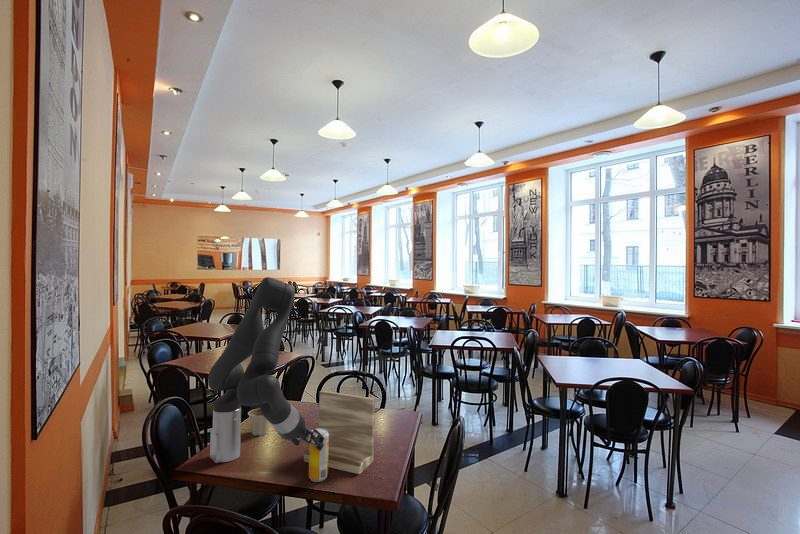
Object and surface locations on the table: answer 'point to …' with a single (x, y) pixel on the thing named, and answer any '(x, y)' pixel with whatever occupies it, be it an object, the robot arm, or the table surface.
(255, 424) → the flower pot
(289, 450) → the table surface
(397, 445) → the table surface
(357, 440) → the wall board
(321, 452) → the beer can
